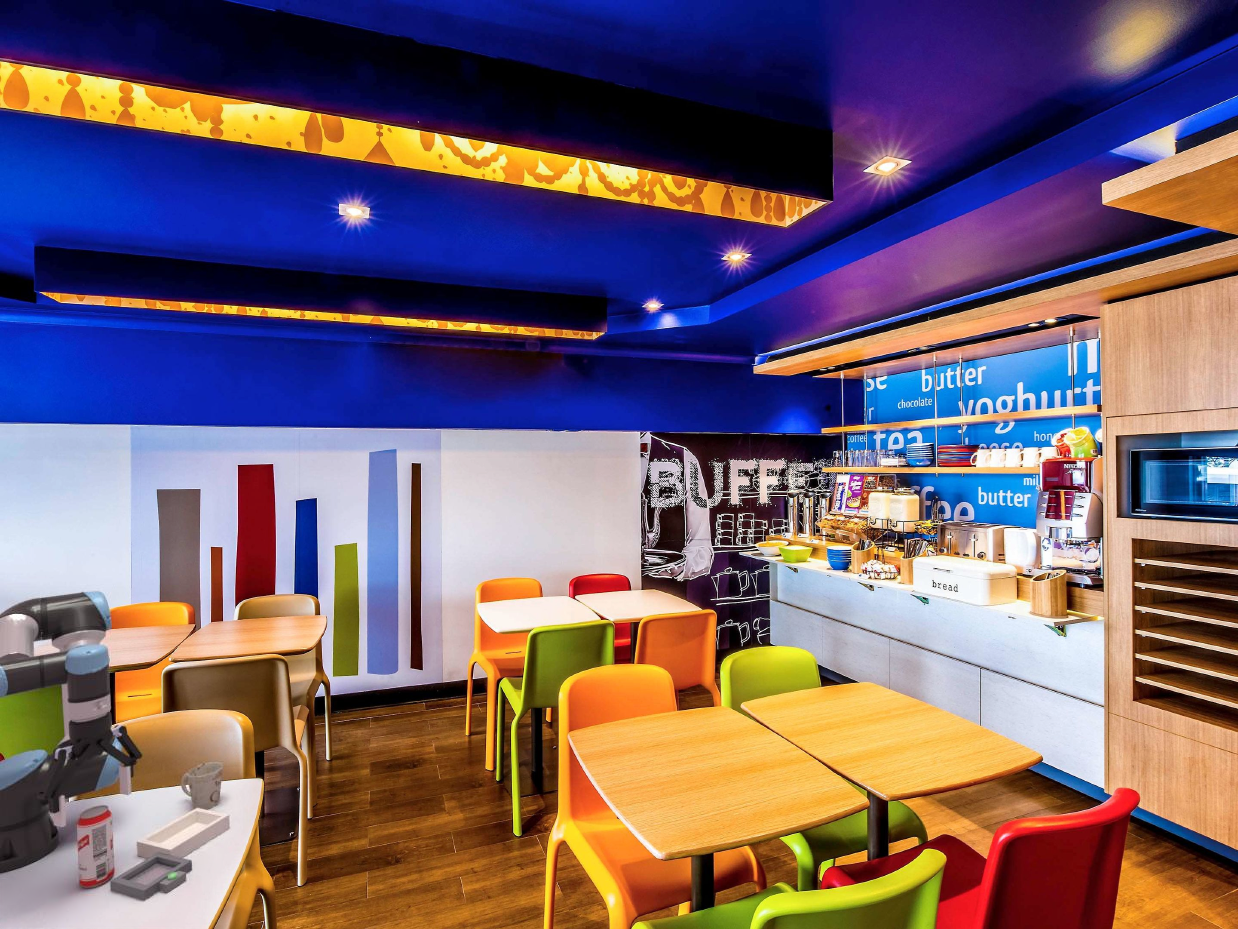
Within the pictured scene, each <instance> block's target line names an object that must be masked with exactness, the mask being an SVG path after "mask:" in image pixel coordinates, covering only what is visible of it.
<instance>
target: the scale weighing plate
mask: <svg viewBox="0 0 1238 929" xmlns="http://www.w3.org/2000/svg"><path fill="white" fill-rule="evenodd" d="M171 869H173V867H169V866H165V865H162V864H158V863H156V864H155V865H153V866H151V867H150V868H148V869H146V870H145V871H143V872H141V873H140V874H138V875H137V876H135V877H133V878H132V879H130V881H133V882H137V883H140V884H144V885H147V884H149V883H150V882H152V881H154V880H155V879H157V878H158V877H160V876H162V875H163V874H165V873H166V872H168V871H169V870H171Z"/></svg>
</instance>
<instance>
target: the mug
mask: <svg viewBox="0 0 1238 929" xmlns="http://www.w3.org/2000/svg"><path fill="white" fill-rule="evenodd" d="M223 769H224V764H223V762H222V763H221V762H220V761H210V762H205V763H202V764H198V765H196V766H194V767H192V768H190V769H189V770H188V771H187V772H186V773H185V774H183V776H182V777H181V779H180V780H181V781H180V786H181V787H180V788H181V790H182V791H183V793H184V794H185V795H187V796H188V797H190V798H191V802H192V803H191V804H192V808H193V810H194V809H196V808H200V809H205V810H210V809H212V808H214V807H216V806H217V805H219V803H220V798H221V788H222V781H223V780H222V779H223ZM186 781H187V783H188V788H189V789H188V788H187V785H186Z"/></svg>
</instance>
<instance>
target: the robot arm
mask: <svg viewBox="0 0 1238 929" xmlns="http://www.w3.org/2000/svg"><path fill="white" fill-rule="evenodd" d="M112 622H113V621H112V617H111V611H110V606H109V603H108V600H107V598H106V596H105V594H104V593H103V592H101V591H99V590H95V591H94V590H93V591H81V592H76V593H68V594H60V595H53V596H52V595H51V596H46V597H37V598H31V599H27V600H24V601H22V602H18V603H16V604H14V605H12V606H11V607H8V608H7V609H5V610H4V611H2V612H1V613H0V699H1V698H4V697H9V696H12V695H18V694H23V693H27V692H33V691H36V690H42V689H46V688H47V689H48V688H52V687H57V686H61V693H62V694H61V696H62V698H61V699H62V714H63V715H62V716H63V729H64V737H63V738H62V740H60V742H58V744H57V747H56V748H54V749H53V751H52V753H50V754H48V752H46V750H44V749H36V750H34V749H33V750H27V751H24V752H21V753H18V754H15V755H13V756H9V757H7V758H5V759H3V760H1V761H0V873H4V872H9V871H12V870H15V869H19V868H21V867H25V866H27V865H29V864H32V863H34V862H36V861H38V860H40V859H43V858H44V857H45V856H48V855H49V854H50V853H51V852H53V851H54V850H55V849H56V848H57V847H58V845H60V831H59V829H58V827H60V828H63V827H66V826H67V820H66V819H67V816H66V800H67V799H72V798H73V797H74V798H75V797H77V796H81V795H85V794H88V793H91V792H97V791H99V790H101V789H104V788H107V787H110V786H113V785H115V783H117V782H118V781H119V793H120V795H125V796H130V795H132V780H131V779H133V778H134V775H135V773H134V766H136V765H137V762H138V760H140V759H141V758H142V757H143V754H142V752H141V751H140V749H139V747H137V744H135V743H134V741H133V740H132V738H131V737H130V735H129V734H128V730H127V726H125V725H120V724H116V725H114V728H113V729H112V727H113V726H112V725H113V723H112V721H113V720H112V719H113V718H112V713H111V712H110V711H111V709H112V706H111V689H110V688H111V687H110V661H111V660H110V655H109V648H108V647H107V646H106V645H104V644H101V642H102V640H104V639H105V638H106V636H107V633H106V631H110V630H111V629H112V626H113V625H112V624H113V623H112ZM49 640H51V646H52V647H54V648H55V649H58V650H59V651H58V652H53V653H47V654H46V653H45V654H41V655H35V643H36V642H40V641H49ZM123 749H124V750H125V752H126V753H124V752H123ZM50 813H51V814H53V817H52V816H51V814H50Z"/></svg>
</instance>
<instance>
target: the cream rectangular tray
mask: <svg viewBox="0 0 1238 929" xmlns="http://www.w3.org/2000/svg"><path fill="white" fill-rule="evenodd" d="M230 823H231V822H230V814H227V813H222V812H218V811H213V810H210V809H207V810H205V809H200V808H196V809H194V808H193V809H192V810H191V811H189V812H187V813H185V814H184V815H182V816H180V817H178V818H177V819H175V820H173V821H171V822H169V823H167V824H165V825H164V826H162V827H160V828H158V829H156V830H155V831H153V832H151V833H150V834H148V835H145V836H143V837H142V838H140V839H139V840H137V841H136V852H137V853H136V854H137V855H136V856H137V857H141V858H144V859H148V858H150V857H151V856H153V855H155V854H156V853H158V852H159V853H163V854H167V855H172V856H176V857H180V858H185V856H188V855H189V854H190V853H192V852H194V851H195V850H197V849H199V848H200V847H202V846H204V845H205V844H206V843H208V842H209V841H211V840H213V839H215V838H217V837H218V836H220V835H221V834H223V833H225V832H226V831H228V830H229V829H231V828H230V827H231V826H230Z"/></svg>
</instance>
